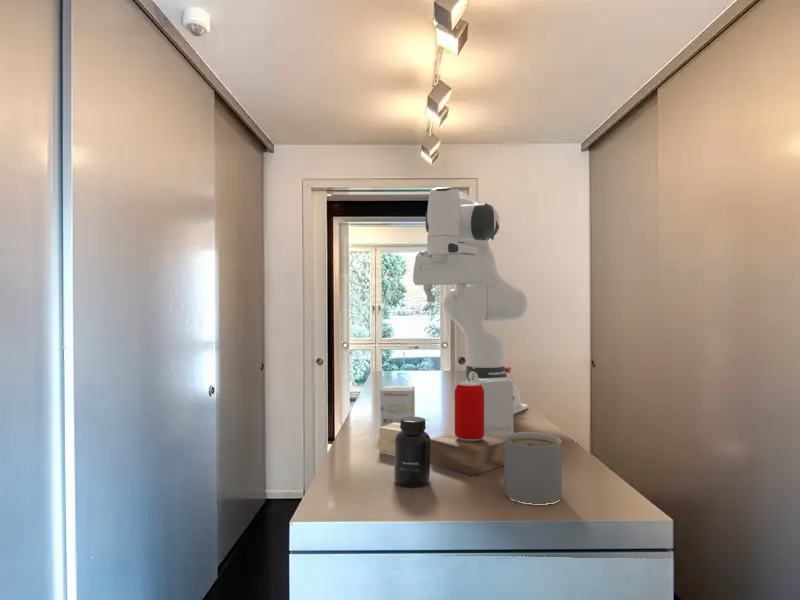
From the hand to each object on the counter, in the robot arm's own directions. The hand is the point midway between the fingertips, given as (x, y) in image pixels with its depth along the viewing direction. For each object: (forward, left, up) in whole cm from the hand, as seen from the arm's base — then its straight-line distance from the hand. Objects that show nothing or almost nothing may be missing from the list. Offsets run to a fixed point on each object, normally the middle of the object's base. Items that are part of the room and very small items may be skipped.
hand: (444, 302), depth 135 cm
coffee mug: (+19, +38, -34) cm, 55 cm away
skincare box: (-7, +11, -34) cm, 37 cm away
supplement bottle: (+31, +20, -34) cm, 50 cm away
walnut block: (+14, +20, -34) cm, 42 cm away
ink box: (+7, -10, -34) cm, 37 cm away
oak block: (+20, +4, -34) cm, 40 cm away
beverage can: (+14, +20, -29) cm, 38 cm away
